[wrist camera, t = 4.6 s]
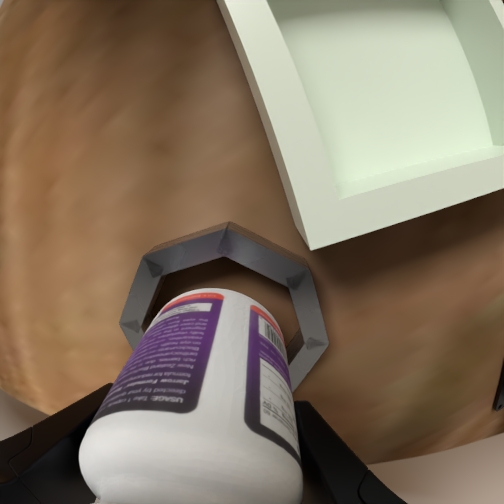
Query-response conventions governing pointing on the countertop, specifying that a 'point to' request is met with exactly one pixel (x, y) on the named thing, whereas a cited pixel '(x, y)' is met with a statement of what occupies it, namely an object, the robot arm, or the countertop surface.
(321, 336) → the collar
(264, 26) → the bin
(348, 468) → the robot arm
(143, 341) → the pill bottle
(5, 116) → the countertop surface
